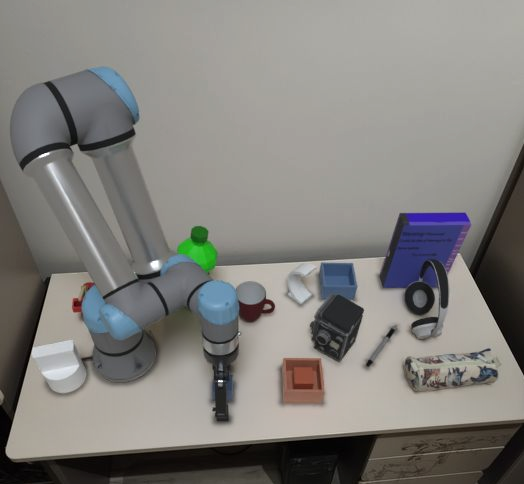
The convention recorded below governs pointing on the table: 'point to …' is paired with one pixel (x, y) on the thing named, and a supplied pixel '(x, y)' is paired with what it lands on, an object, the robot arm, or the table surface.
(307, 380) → the terracotta block
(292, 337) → the table surface
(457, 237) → the blue book
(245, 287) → the mug
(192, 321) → the table surface
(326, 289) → the blue bin
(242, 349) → the table surface
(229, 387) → the blue block
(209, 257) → the plastic bottle
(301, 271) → the headphone stand
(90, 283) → the toy fire truck
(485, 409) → the table surface
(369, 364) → the pen
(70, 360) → the base with upright slab
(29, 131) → the robot arm
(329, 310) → the camera
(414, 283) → the headphones
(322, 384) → the clay bin
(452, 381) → the pencil case
